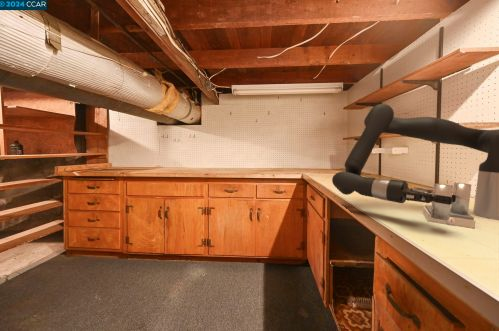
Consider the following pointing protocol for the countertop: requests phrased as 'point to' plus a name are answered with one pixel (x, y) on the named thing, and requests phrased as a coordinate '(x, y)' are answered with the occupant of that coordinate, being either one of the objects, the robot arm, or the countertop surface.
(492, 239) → the countertop surface
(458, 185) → the cylinder
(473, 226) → the scale
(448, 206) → the cylinder
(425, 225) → the countertop surface
